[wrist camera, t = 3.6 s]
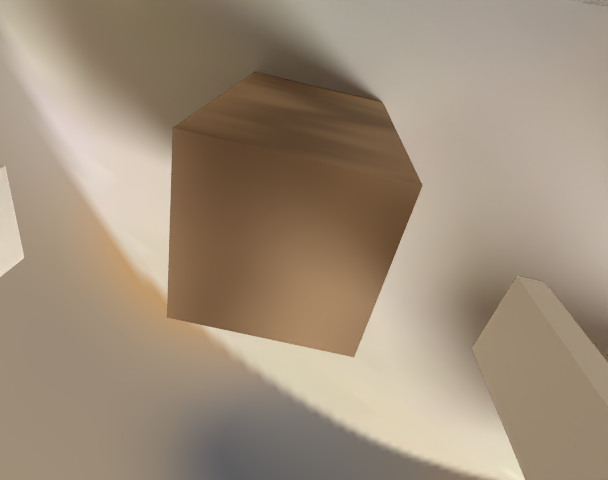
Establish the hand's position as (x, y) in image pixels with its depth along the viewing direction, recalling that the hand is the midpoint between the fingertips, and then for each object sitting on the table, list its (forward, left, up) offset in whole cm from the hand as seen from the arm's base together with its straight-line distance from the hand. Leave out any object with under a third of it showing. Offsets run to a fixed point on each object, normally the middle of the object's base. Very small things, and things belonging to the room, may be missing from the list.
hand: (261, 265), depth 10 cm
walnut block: (0, 0, -10) cm, 10 cm away
